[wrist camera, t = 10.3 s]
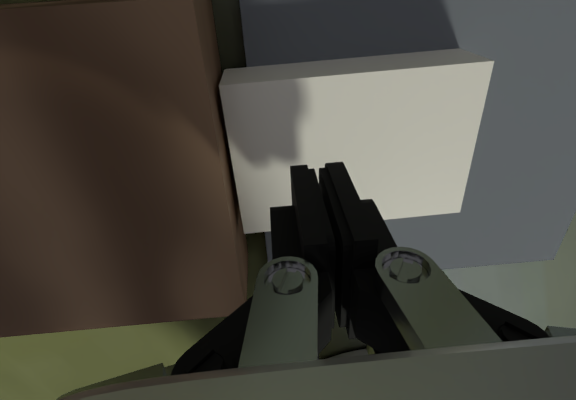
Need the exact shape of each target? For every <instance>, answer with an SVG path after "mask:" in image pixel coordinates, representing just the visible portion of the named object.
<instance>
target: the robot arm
mask: <svg viewBox="0 0 576 400" xmlns="http://www.w3.org/2000/svg"><path fill="white" fill-rule="evenodd" d="M290 177H291V195H292V205H291V206H279V207H270V223H271V243H272V260H271V261H270V262H268V263H266V264H265V265H264V266H263V267H262V268H261V269H260V271H259V273H258V276H257V280H256V284H255V289H254V294H253V296H252V297H251V298H249V299H248V300H247V301H246V302H245V303H243V304H242V305H241V306H240V307H239V308H237V309H236V310H235V311H234V312H233V313H231V314H230V315H229V316H228V317H227V318H225V319H224V320H223V321H222V322H221V323H219V324H218V325H217V326H216V327H215V328H213V329H212V330H211V331H210V332H209V333H207V334H206V335H205V336H204V337H203V338H202V339H200V340H199V341H198V342H197V343H196V344H194V345H193V346H192V347H191V348H190V349H188V350H187V351H186V352H185V353H184V354H183V355H182V356H181V357H180V358H179V359H178V360H177V362H176V364H174V365H170V366H167V367H164V365H163V363H160V364H157V365H154V366H150V367H147V368H144V369H140V370H137V371H134V372H131V373H127V374H124V375H121V376H117V377H114V378H111V379H108V380H104V381H101V382H98V383H94V384H91V385H88V386H85V387H81V388H78V389H75V390H72V391H70V392H68V393H66V394H64V395H61V396H60V397H59V398H58V399H56V400H576V329H575V328H564V327H554V326H547V327H546V329H545V331H543V330H542V329H541V328H540V327H539V326H537V325H535V324H534V323H532V322H530V321H528V320H526V319H524V318H522V317H520V316H517V315H515V314H513V313H511V312H508V311H506V310H504V309H502V308H499V307H497V306H495V305H493V304H491V303H488V302H486V301H484V300H482V299H479V298H477V297H475V296H473V295H470V294H468V293H466V292H464V291H461V290H459V289H457V287H456V286H455V285H454V284H453V283H452V282H451V280H450V279H449V278H448V277H447V276H446V275H445V273H444V272H443V271H442V270H441V269H440V268H439V266H438V265H437V264H436V263H435V262H434V260H432V259H431V258H430V257H429V256H428V255H427V254H425V253H423V252H421V251H419V250H416V249H413V248H408V247H397V245H396V243H395V241H394V239H393V237H392V235H391V233H390V231H389V229H388V227H387V225H386V223H385V222H384V220H383V218H382V216H381V214H380V212H379V210H378V208H377V206H376V204H375V202H374V201H373V199H363V200H360V198H359V195H358V193H357V191H356V189H355V187H354V184H353V182H352V180H351V178H350V176H349V174H348V171H347V169H346V167H345V165H344V163H343V162H332V163H325V168H319V183H318V179H317V176H316V173H315V169H314V168H313V169H308V165H294V166H290ZM335 312H336V316H337V320H338V324H339V327H346V329H347V333H348V337H349V339H354V338H357V339H359V340H360V341H362V342H364V343H365V344H367V349H361V350H356V351H351V352H346V353H342V354H339V355H336V356H333V357H330V358H327V359H320V360H319V353H320V352H321V351H322V350H323V349H324V347H325V346H326V345H327V344H328V343H329V342H330V340H331V328H334V313H335Z"/></svg>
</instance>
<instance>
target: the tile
mask: <svg viewBox="0 0 576 400" xmlns="http://www.w3.org/2000/svg"><path fill="white" fill-rule="evenodd" d="M493 65H494V61H493V60H491V59H488V58H485V57H482V56H480V55H477V54H474V53H471V52H468V51H466V50H463V49H460V48H457V49H445V50H434V51H423V52H412V53H401V54H389V55H378V56H367V57H356V58H344V59H333V60H322V61H311V62H299V63H288V64H277V65H266V66H255V67H243V68H232V69H225V70H224V72H223V75H222V78H221V81H220V84H219V90H220V96H221V102H222V108H223V114H224V119H225V125H226V131H227V137H228V143H229V148H230V154H231V160H232V166H233V172H234V178H235V183H236V189H237V195H238V201H239V207H240V213H241V218H242V224H243V230H244V234H248V233H258V232H268V231H271V223H270V207H279V206H291V205H292V195H291V177H290V166H294V165H308V169H313V168H314V169H315V173H316V176H317V179H318V183H319V168H325V163H332V162H343V163H344V165H345V167H346V169H347V171H348V174H349V176H350V178H351V180H352V182H353V184H354V187H355V189H356V191H357V193H358V195H359V198H360V200H363V199H373V201H374V202H375V204H376V206H377V208H378V210H379V212H380V214H381V216H382V218H383V220H388V219H398V218H408V217H418V216H428V215H439V214H449V213H459V212H460V210H461V206H462V201H463V197H464V193H465V188H466V184H467V179H468V175H469V171H470V166H471V162H472V157H473V153H474V149H475V144H476V140H477V135H478V131H479V126H480V122H481V118H482V113H483V109H484V104H485V100H486V96H487V91H488V87H489V82H490V78H491V74H492V69H493Z"/></svg>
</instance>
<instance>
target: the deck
mask: <svg viewBox="0 0 576 400" xmlns="http://www.w3.org/2000/svg"><path fill="white" fill-rule="evenodd" d="M221 78H222V70H221V63H220V56H219V49H218V42H217V36H216V29H215V22H214V15H213V8H212V1H211V0H63V1H47V2H32V3H16V4H0V337H9V336H20V335H31V334H42V333H53V332H64V331H74V330H85V329H96V328H107V327H118V326H129V325H139V324H150V323H161V322H172V321H183V320H194V319H205V318H215V317H226V316H229V315H230V314H231V313H233V312H234V311H235V310H236V309H237V308H239V307H240V306H241V305H242V304H243V303H245V302H246V301H247V279H248V248H247V241H246V234H244V230H243V224H242V218H241V213H240V207H239V201H238V195H237V189H236V183H235V178H234V172H233V166H232V160H231V154H230V148H229V143H228V137H227V131H226V125H225V119H224V114H223V108H222V102H221V96H220V90H219V84H220V81H221Z"/></svg>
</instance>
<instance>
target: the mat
mask: <svg viewBox="0 0 576 400" xmlns="http://www.w3.org/2000/svg"><path fill="white" fill-rule="evenodd" d="M239 2H240V11H241V20H242V29H243V38H244V48H245V57H246V66H247V67H255V66H266V65H277V64H288V63H299V62H311V61H322V60H333V59H344V58H356V57H367V56H378V55H389V54H401V53H412V52H423V51H434V50H445V49H457V48H460V49H463V50H466V51H468V52H471V53H474V54H477V55H480V56H482V57H485V58H488V59H491V60H493V61H494V65H493V69H492V74H491V78H490V82H489V87H488V91H487V96H486V100H485V104H484V109H483V113H482V118H481V122H480V126H479V131H478V135H477V140H476V144H475V149H474V153H473V157H472V162H471V166H470V171H469V175H468V179H467V184H466V188H465V193H464V197H463V201H462V206H461V210H460V212H459V213H449V214H439V215H428V216H418V217H408V218H398V219H388V220H384V222H385V223H386V225H387V227H388V229H389V231H390V233H391V235H392V237H393V239H394V241H395V243H396V245H397V247H408V248H413V249H416V250H419V251H421V252H423V253H425V254H427V255H428V256H429V257H430V258H431V259H432V260H434V262H435V263H436V264H437V265H438V266H439V268H440V269H441V270H443V269H454V268H465V267H476V266H487V265H499V264H510V263H521V262H532V261H543V260H554V258H555V256H556V253H557V251H558V249H559V247H560V245H561V242H562V240H563V238H564V236H565V234H566V231H567V229H568V227H569V225H570V223H571V221H572V218H573V216H574V214H575V212H576V0H239ZM265 240H266V249H267V258H268V262H270V261H271V260H272V243H271V231H268V232H265Z"/></svg>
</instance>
